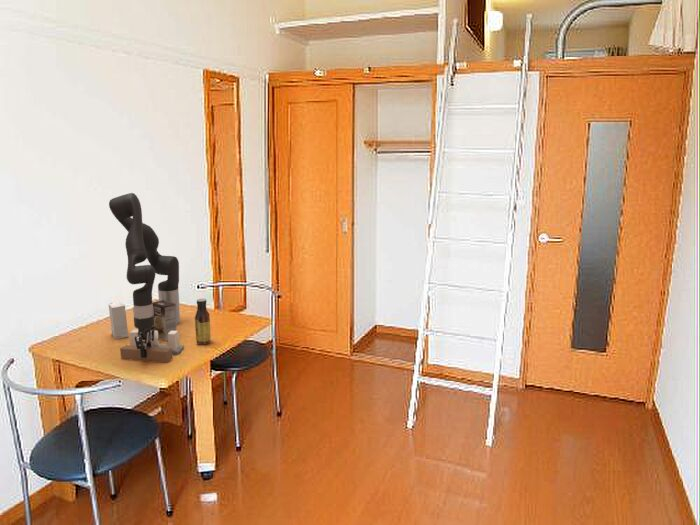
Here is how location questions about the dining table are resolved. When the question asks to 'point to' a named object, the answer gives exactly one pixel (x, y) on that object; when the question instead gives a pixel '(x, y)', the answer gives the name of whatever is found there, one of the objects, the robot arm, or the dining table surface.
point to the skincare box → (118, 320)
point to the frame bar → (152, 353)
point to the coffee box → (164, 318)
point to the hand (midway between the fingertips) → (146, 355)
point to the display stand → (172, 341)
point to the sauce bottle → (202, 323)
